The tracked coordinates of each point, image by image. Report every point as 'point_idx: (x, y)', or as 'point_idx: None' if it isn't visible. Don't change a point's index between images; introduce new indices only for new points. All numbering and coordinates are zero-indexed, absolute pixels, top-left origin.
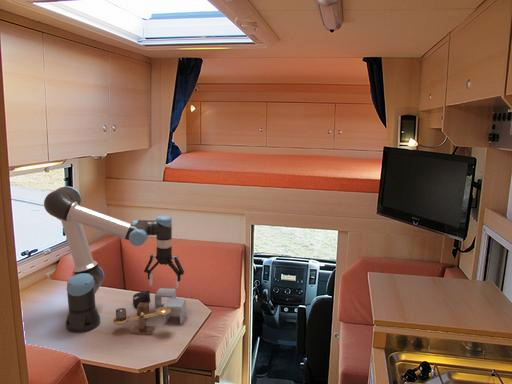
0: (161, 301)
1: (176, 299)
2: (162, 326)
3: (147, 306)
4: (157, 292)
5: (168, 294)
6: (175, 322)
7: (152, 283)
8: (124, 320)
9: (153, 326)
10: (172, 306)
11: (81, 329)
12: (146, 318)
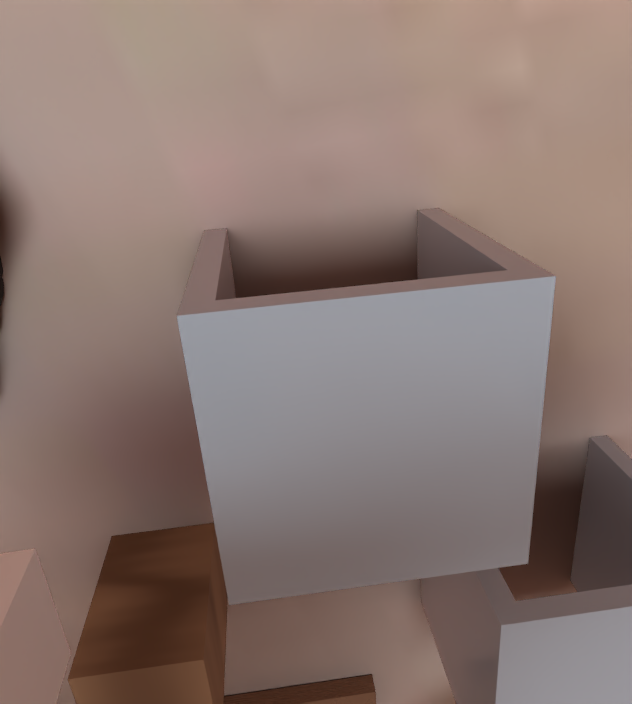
0: (226, 250)
1: (629, 629)
2: (422, 640)
3: (213, 680)
4: (228, 506)
5: (464, 527)
6: (522, 564)
7: (31, 585)
8: None
9: (359, 697)
10: None
11: None
12: (226, 606)
